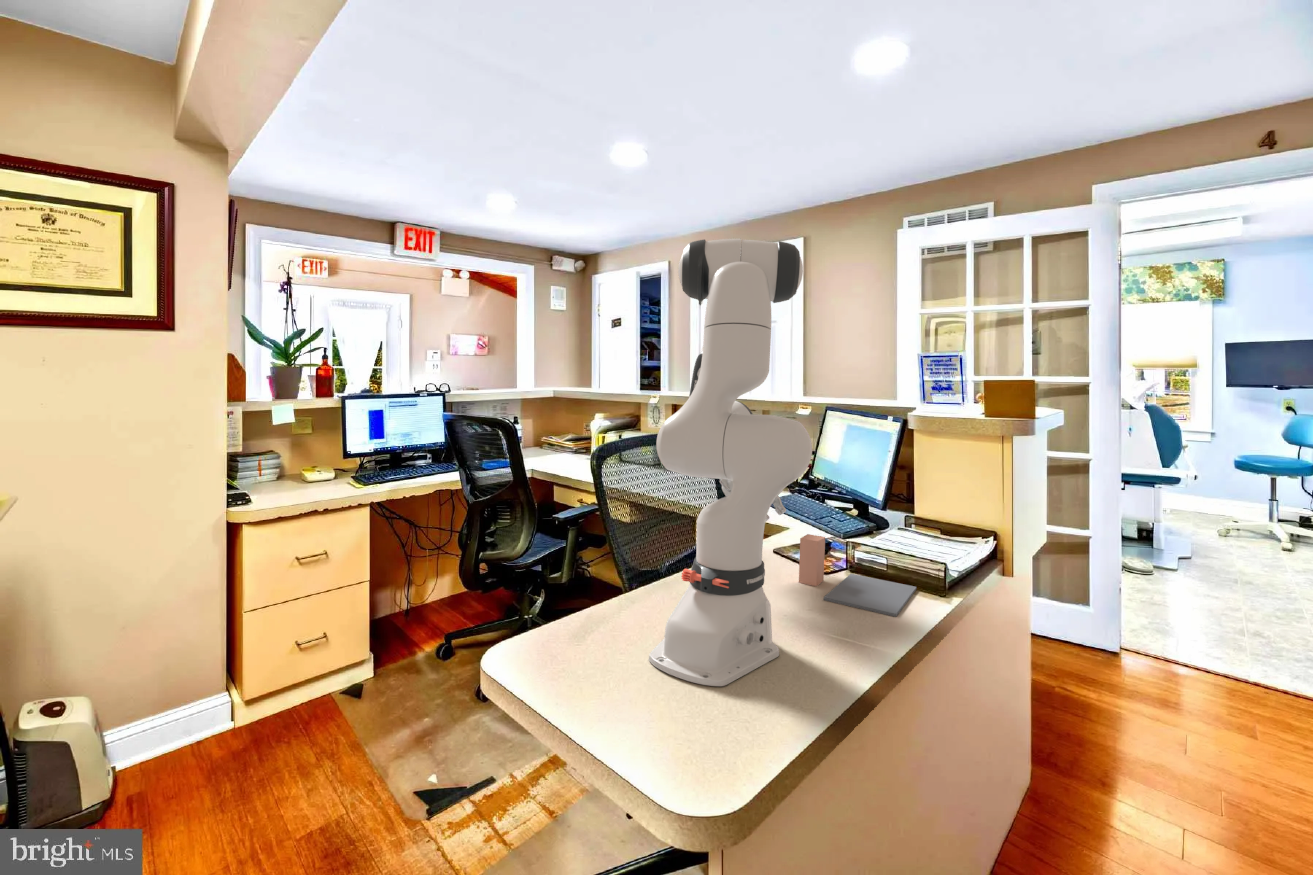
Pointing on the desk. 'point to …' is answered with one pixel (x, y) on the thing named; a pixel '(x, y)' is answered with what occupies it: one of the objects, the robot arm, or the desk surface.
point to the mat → (871, 594)
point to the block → (811, 559)
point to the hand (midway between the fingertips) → (775, 516)
